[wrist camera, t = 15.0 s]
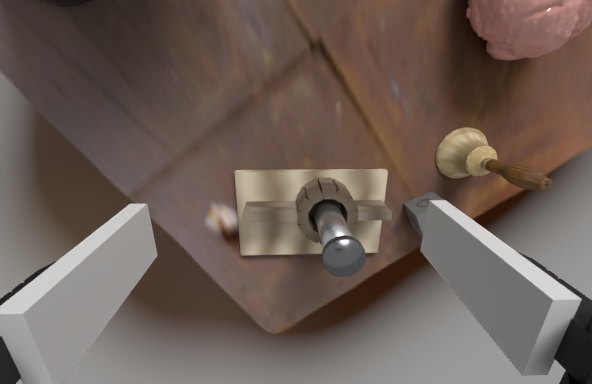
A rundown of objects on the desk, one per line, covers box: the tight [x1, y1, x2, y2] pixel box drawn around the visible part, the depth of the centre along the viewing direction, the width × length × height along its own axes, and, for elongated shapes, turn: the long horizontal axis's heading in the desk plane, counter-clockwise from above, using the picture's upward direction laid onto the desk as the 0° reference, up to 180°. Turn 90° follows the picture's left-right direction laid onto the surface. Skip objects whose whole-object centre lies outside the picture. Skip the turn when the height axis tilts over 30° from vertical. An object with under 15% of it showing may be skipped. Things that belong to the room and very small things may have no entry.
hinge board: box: [235, 169, 392, 255], centre depth 45 cm, size 24×15×6 cm, turn 90°
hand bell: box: [436, 127, 552, 190], centre depth 38 cm, size 8×8×16 cm
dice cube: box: [404, 191, 443, 238], centre depth 47 cm, size 5×5×5 cm
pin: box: [312, 199, 366, 277], centre depth 39 cm, size 5×5×15 cm
